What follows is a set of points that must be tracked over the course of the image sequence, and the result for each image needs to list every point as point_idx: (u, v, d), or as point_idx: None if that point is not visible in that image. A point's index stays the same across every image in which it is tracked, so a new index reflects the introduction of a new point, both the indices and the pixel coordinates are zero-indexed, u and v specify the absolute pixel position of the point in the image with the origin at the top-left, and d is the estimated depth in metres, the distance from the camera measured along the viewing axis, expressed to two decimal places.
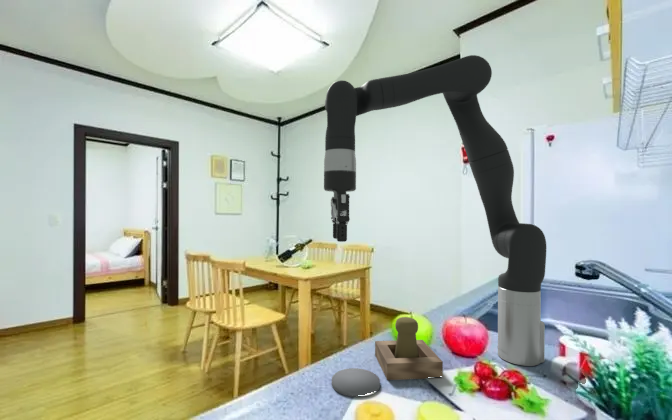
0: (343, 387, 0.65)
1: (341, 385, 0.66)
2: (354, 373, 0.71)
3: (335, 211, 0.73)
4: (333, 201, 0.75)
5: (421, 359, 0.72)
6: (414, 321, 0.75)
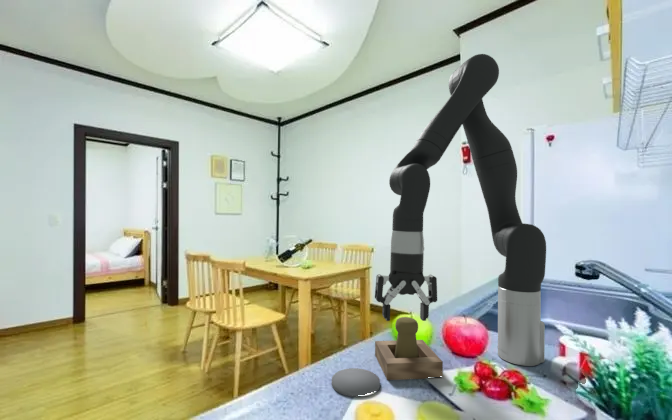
0: (343, 387, 0.65)
1: (341, 385, 0.66)
2: (354, 373, 0.71)
3: (423, 293, 0.76)
4: None
5: (421, 359, 0.72)
6: (414, 321, 0.75)
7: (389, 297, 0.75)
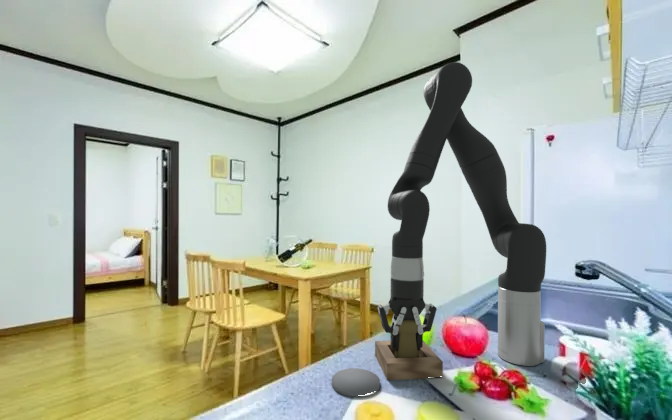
0: (343, 387, 0.65)
1: (341, 385, 0.66)
2: (354, 373, 0.71)
3: None
4: None
5: (421, 359, 0.72)
6: (414, 321, 0.75)
7: (395, 327, 0.75)
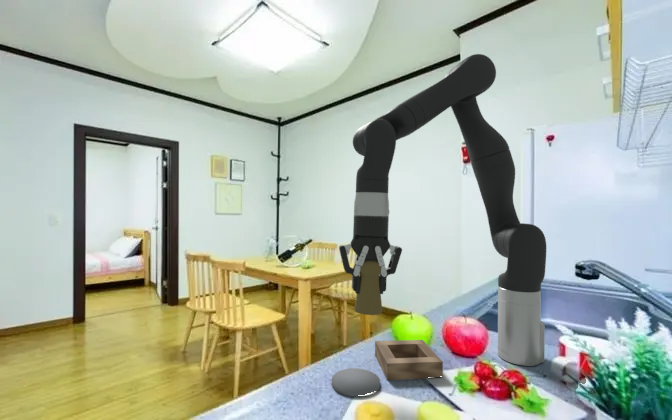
0: (343, 387, 0.65)
1: (341, 385, 0.66)
2: (354, 373, 0.71)
3: None
4: None
5: (421, 359, 0.72)
6: (377, 262, 0.70)
7: (357, 267, 0.70)
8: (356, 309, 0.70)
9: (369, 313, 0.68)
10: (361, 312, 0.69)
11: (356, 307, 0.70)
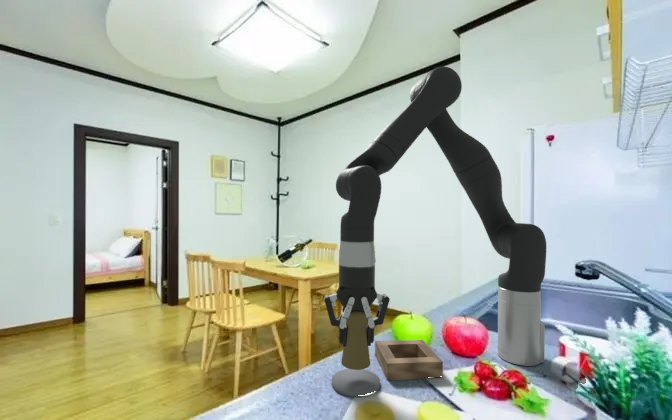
0: (343, 387, 0.65)
1: (341, 385, 0.66)
2: (354, 373, 0.71)
3: None
4: (367, 301, 0.67)
5: (421, 359, 0.72)
6: (364, 313, 0.67)
7: (343, 319, 0.67)
8: (343, 363, 0.67)
9: (356, 368, 0.65)
10: (348, 367, 0.66)
11: (343, 360, 0.67)
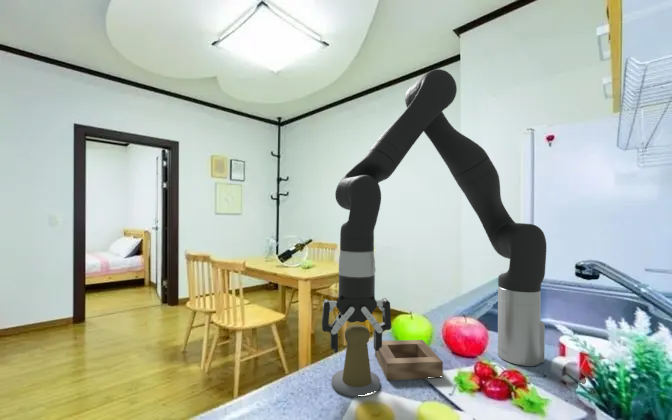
0: (343, 387, 0.65)
1: (341, 385, 0.66)
2: None
3: (375, 320, 0.67)
4: (367, 309, 0.67)
5: (421, 359, 0.72)
6: (365, 329, 0.67)
7: (336, 326, 0.67)
8: (344, 380, 0.67)
9: (358, 385, 0.65)
10: (350, 384, 0.66)
11: (344, 378, 0.67)
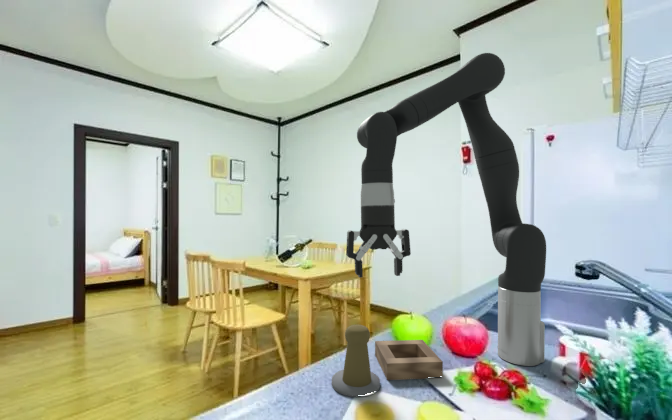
0: (343, 387, 0.65)
1: (341, 385, 0.66)
2: None
3: None
4: None
5: (421, 359, 0.72)
6: (365, 329, 0.67)
7: (361, 252, 0.72)
8: (344, 380, 0.67)
9: (358, 385, 0.65)
10: (350, 384, 0.66)
11: (344, 377, 0.67)
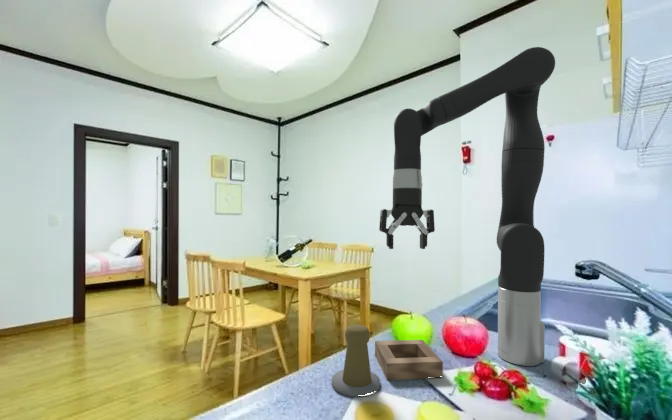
0: (343, 387, 0.65)
1: (341, 385, 0.66)
2: None
3: None
4: None
5: (421, 359, 0.72)
6: (365, 329, 0.67)
7: (392, 227, 0.85)
8: (344, 380, 0.67)
9: (358, 385, 0.65)
10: (349, 384, 0.66)
11: (344, 377, 0.67)
